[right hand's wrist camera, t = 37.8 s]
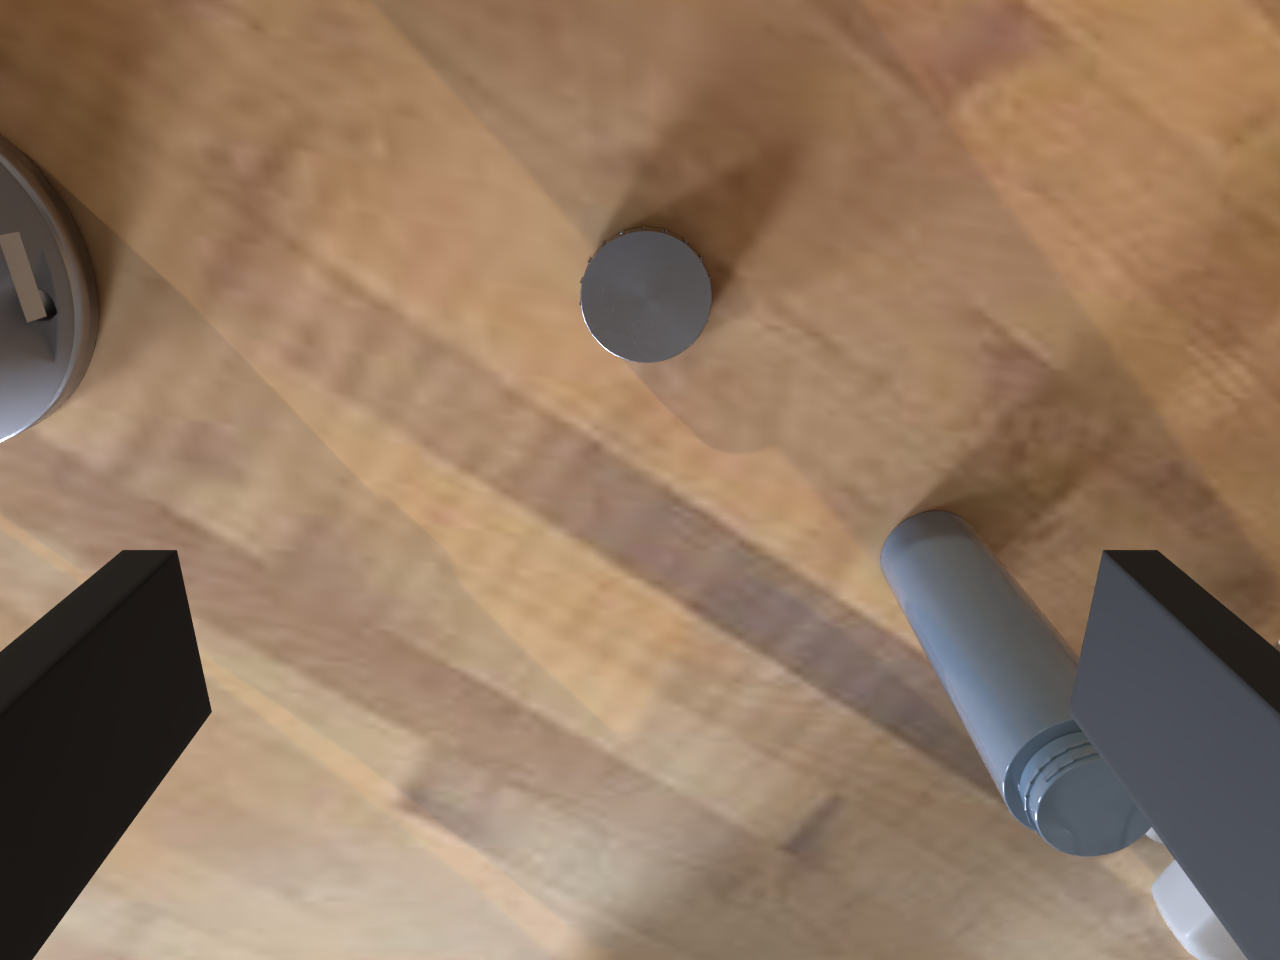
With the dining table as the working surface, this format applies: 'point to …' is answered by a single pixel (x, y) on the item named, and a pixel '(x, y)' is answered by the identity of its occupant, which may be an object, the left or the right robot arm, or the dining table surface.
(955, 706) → the grey cylinder
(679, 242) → the lid
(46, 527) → the dining table surface
